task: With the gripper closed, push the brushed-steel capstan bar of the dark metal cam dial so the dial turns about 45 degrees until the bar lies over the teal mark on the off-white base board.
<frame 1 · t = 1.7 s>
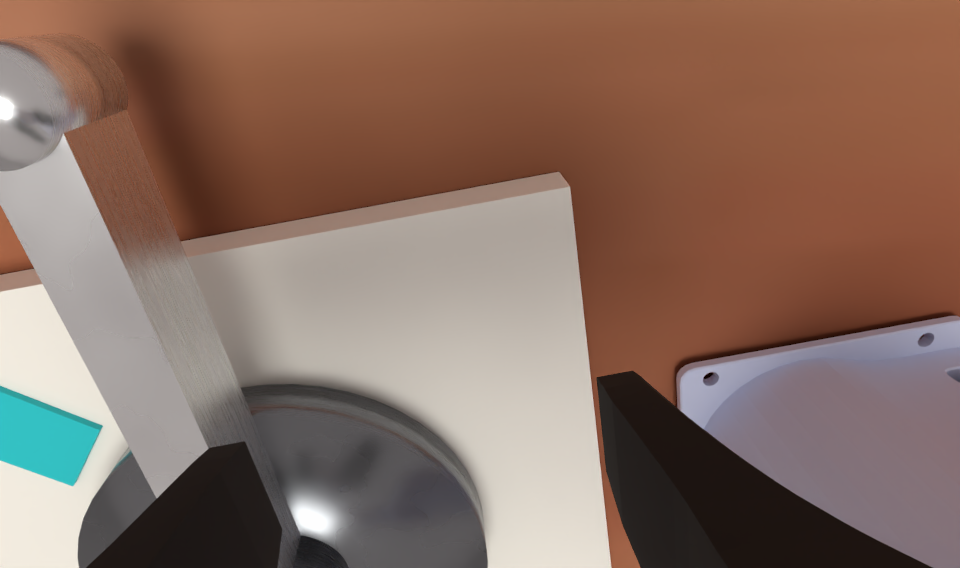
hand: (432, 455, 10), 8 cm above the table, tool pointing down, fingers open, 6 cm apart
cam dial: (230, 474, 16), point 4 cm above the table, hinge at 0.0°
base board: (309, 499, 21), on the table
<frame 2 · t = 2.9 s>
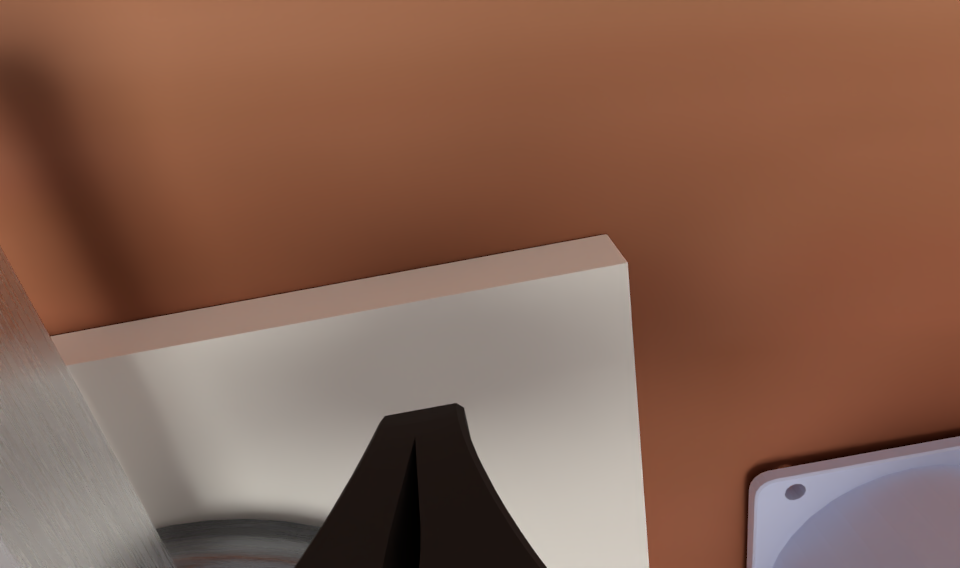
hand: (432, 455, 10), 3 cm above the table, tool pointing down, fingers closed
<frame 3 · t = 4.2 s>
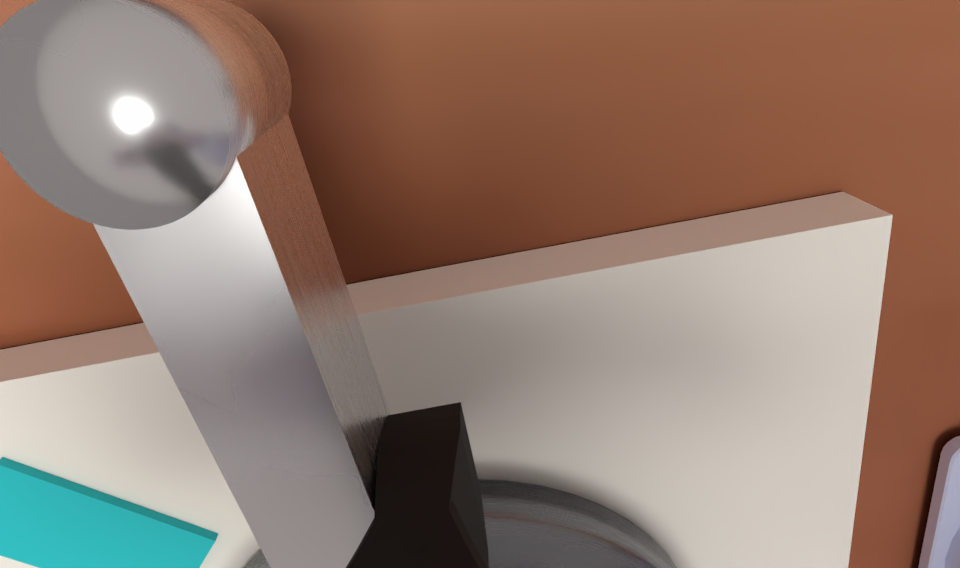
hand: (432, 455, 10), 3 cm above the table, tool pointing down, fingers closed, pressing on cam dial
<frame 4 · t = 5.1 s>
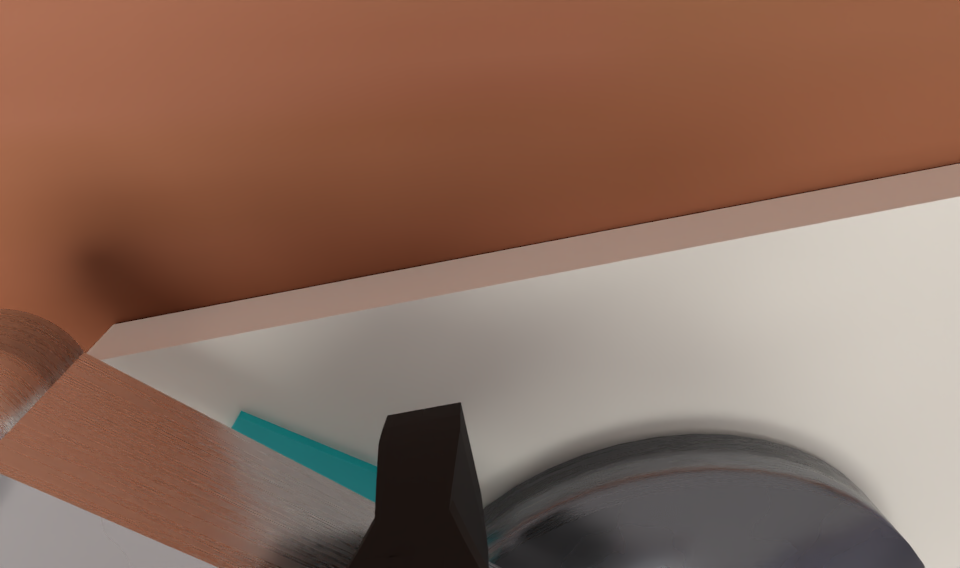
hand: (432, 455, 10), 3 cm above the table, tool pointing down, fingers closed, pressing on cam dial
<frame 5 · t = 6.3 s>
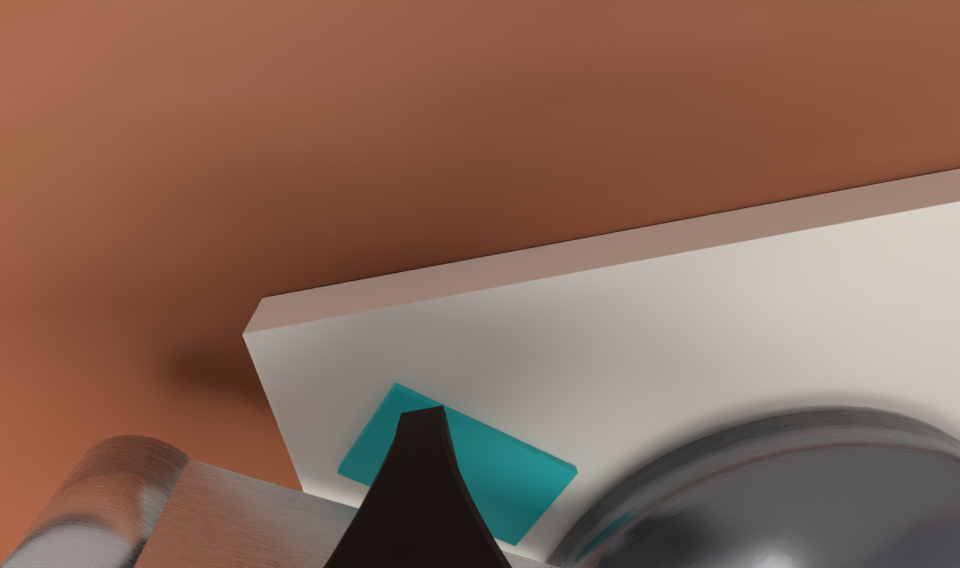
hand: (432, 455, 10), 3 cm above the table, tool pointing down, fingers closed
base board: (736, 551, 17), on the table
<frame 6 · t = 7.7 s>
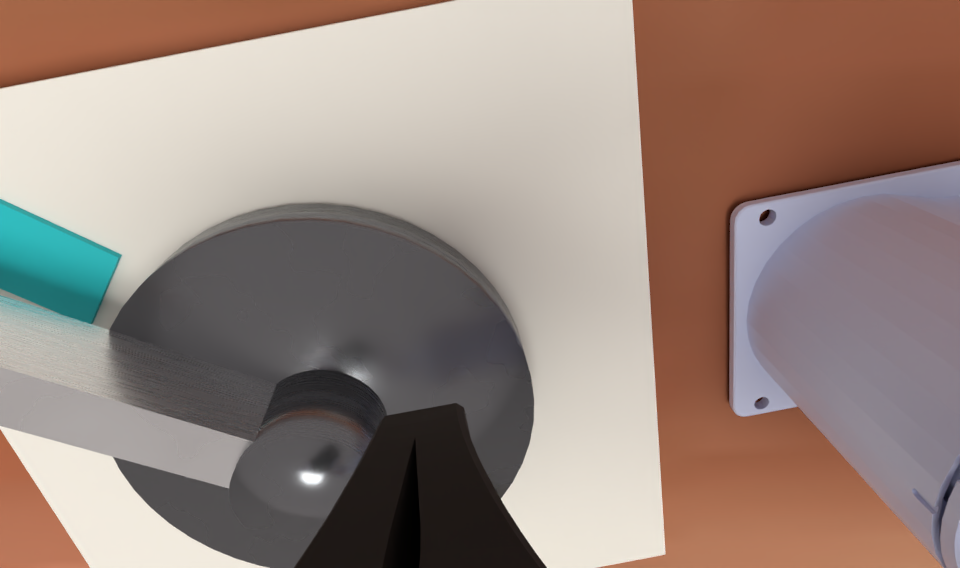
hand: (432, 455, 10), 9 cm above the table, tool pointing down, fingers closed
cam dial: (139, 383, 16), point 4 cm above the table, hinge at 54.8°
base board: (338, 362, 20), on the table
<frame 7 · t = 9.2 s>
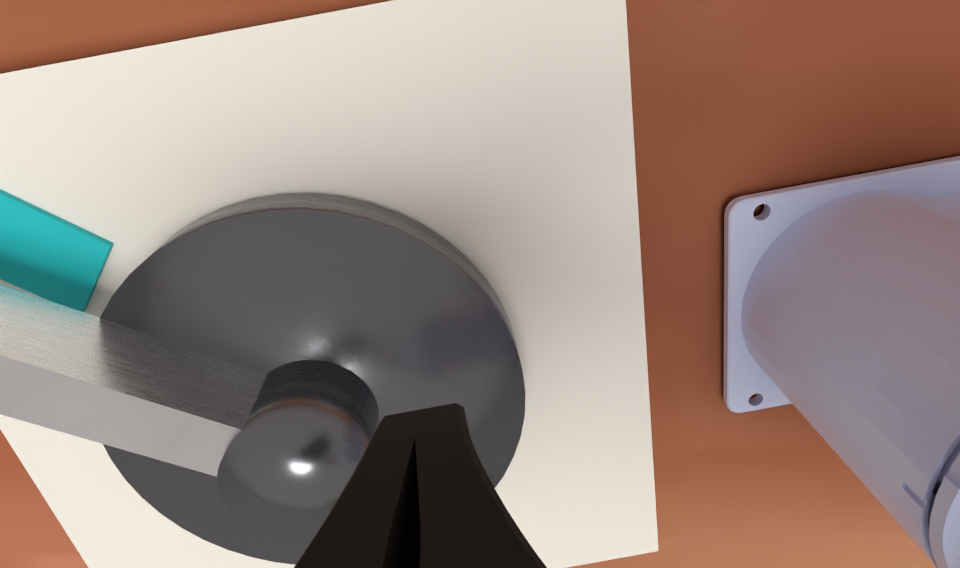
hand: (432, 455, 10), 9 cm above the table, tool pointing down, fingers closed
cam dial: (129, 371, 16), point 4 cm above the table, hinge at 54.8°
base board: (331, 354, 20), on the table
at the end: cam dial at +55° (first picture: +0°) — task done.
